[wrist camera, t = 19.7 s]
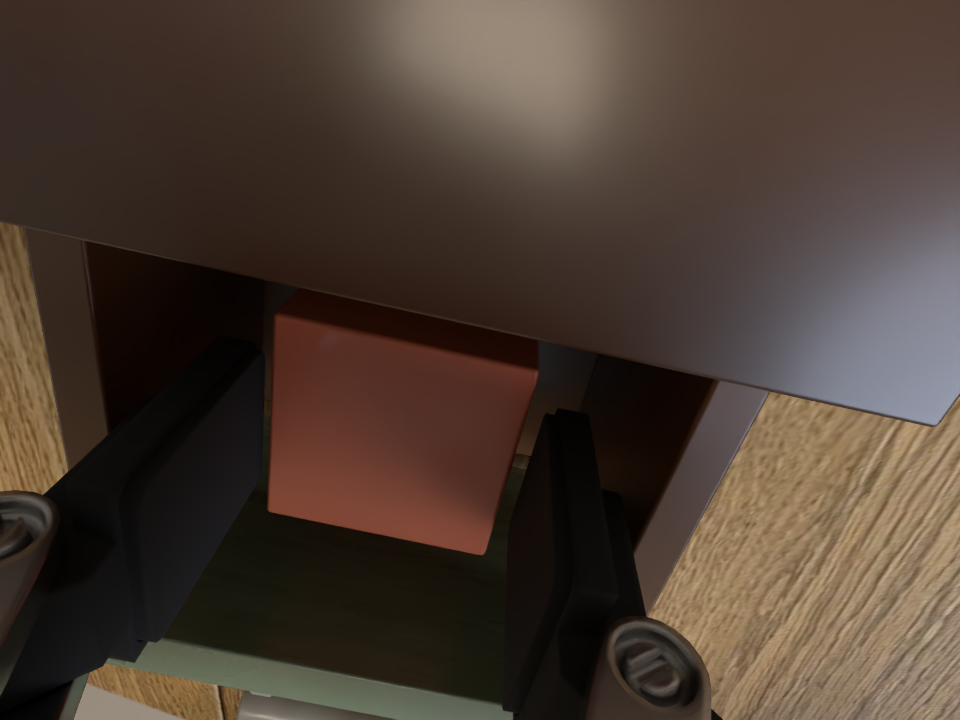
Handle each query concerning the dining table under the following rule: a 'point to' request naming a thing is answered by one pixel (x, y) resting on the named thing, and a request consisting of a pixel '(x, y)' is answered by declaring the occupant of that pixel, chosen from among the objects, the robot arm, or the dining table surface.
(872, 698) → the dining table surface
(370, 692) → the drawer
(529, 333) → the cabinet
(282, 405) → the block
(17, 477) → the dining table surface
